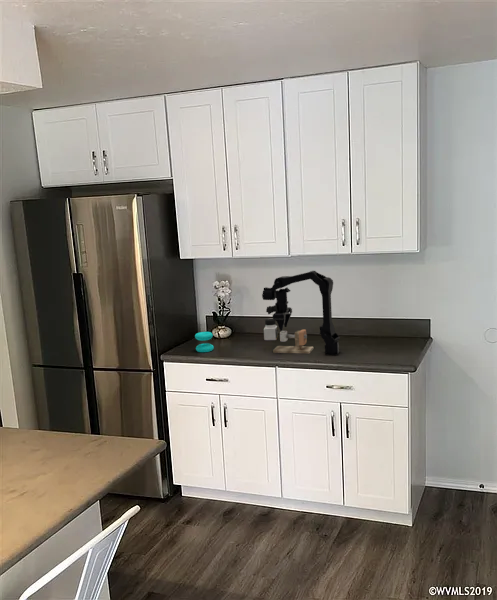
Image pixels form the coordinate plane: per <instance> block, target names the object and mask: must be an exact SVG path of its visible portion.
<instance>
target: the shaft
mask: <svg viewBox="0 0 497 600" xmlns="http://www.w3.org/2000/svg"><path fill="white" fill-rule="evenodd" d="M304 338H308V334H306V335H304ZM288 339H295V333H294V334H291V333H288V331H287V330H282V331H280V332H279V340H280V342H287V341H288Z"/></svg>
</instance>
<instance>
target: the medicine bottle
mask: <svg viewBox="0 0 497 600" xmlns="http://www.w3.org/2000/svg"><path fill="white" fill-rule="evenodd" d="M264 325H265V326H264V328H263V339H264V341H277V339H278V338H279V329H278V328H279V326H278V325H277V322H276V321H275V320H274V319H273V317H272V318H266V319H265V320H264Z"/></svg>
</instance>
